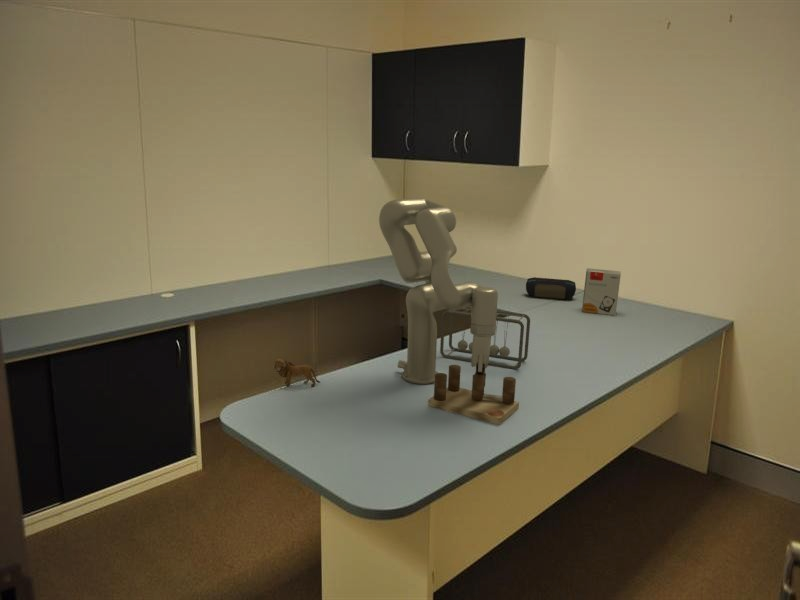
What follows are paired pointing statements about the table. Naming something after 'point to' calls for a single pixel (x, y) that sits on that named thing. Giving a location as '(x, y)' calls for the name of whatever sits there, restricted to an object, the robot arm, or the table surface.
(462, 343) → the newton's cradle
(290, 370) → the lion figurine
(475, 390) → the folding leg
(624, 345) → the table surface
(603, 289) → the hard drive box
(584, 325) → the table surface
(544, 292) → the portable speaker
